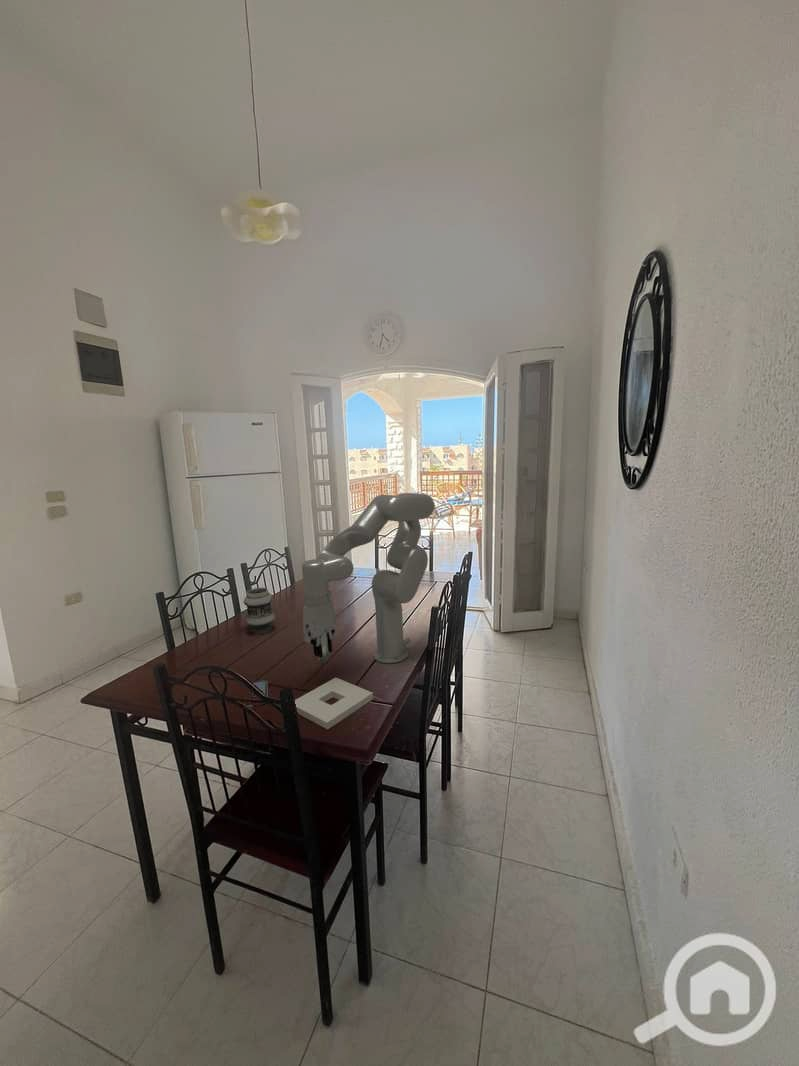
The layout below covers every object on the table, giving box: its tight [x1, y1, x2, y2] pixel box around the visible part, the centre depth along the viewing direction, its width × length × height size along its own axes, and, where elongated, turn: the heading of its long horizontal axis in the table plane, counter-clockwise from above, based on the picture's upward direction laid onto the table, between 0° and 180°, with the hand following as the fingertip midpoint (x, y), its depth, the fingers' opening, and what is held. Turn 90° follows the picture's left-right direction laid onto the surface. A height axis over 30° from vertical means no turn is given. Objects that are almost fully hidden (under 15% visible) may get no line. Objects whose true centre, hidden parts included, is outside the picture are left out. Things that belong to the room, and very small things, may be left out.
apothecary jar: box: [243, 587, 276, 636], centre depth 182 cm, size 12×12×18 cm
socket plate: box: [294, 677, 374, 730], centre depth 125 cm, size 18×16×2 cm
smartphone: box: [248, 679, 269, 708], centre depth 133 cm, size 7×1×15 cm
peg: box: [317, 628, 331, 663], centre depth 136 cm, size 5×5×11 cm
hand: (323, 653), depth 137 cm, fingers closed on peg, 3 cm apart
